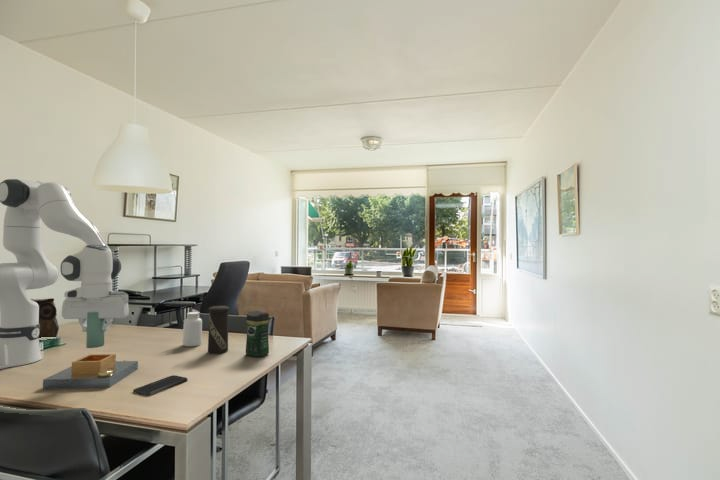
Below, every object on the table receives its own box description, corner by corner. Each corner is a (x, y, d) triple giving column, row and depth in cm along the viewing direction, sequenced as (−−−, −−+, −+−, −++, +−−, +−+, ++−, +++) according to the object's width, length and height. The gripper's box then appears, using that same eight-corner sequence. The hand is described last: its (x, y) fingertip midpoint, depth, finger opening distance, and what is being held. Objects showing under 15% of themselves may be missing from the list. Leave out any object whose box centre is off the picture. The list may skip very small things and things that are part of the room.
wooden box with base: (42, 389, 115) (43, 367, 115) (80, 370, 133) (80, 351, 133) (109, 387, 117) (110, 365, 117) (137, 369, 135) (138, 350, 135)
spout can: (82, 348, 122) (84, 303, 123) (92, 344, 127) (93, 301, 128) (98, 347, 123) (99, 303, 123) (107, 344, 128) (108, 301, 128)
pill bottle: (194, 347, 165) (195, 314, 165) (178, 346, 166) (179, 313, 167) (205, 343, 173) (205, 311, 173) (190, 342, 174) (191, 310, 175)
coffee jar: (272, 354, 156) (272, 311, 157) (258, 358, 149) (259, 313, 150) (256, 350, 161) (257, 309, 162) (242, 355, 154) (243, 311, 155)
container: (202, 353, 156) (203, 307, 156) (215, 347, 165) (216, 304, 165) (220, 355, 154) (221, 308, 154) (232, 349, 163) (233, 305, 163)
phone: (189, 378, 124) (148, 394, 110) (189, 381, 124) (148, 397, 110) (172, 374, 127) (131, 389, 113) (172, 378, 127) (131, 393, 113)
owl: (59, 338, 177) (60, 298, 178) (24, 343, 168) (26, 300, 168) (53, 334, 185) (55, 295, 186) (20, 339, 176) (21, 298, 176)
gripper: (133, 290, 130) (132, 328, 130) (71, 290, 128) (70, 329, 127) (123, 292, 124) (122, 332, 123) (59, 292, 121) (57, 333, 121)
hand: (95, 331), depth 125 cm, fingers closed on spout can, 5 cm apart
